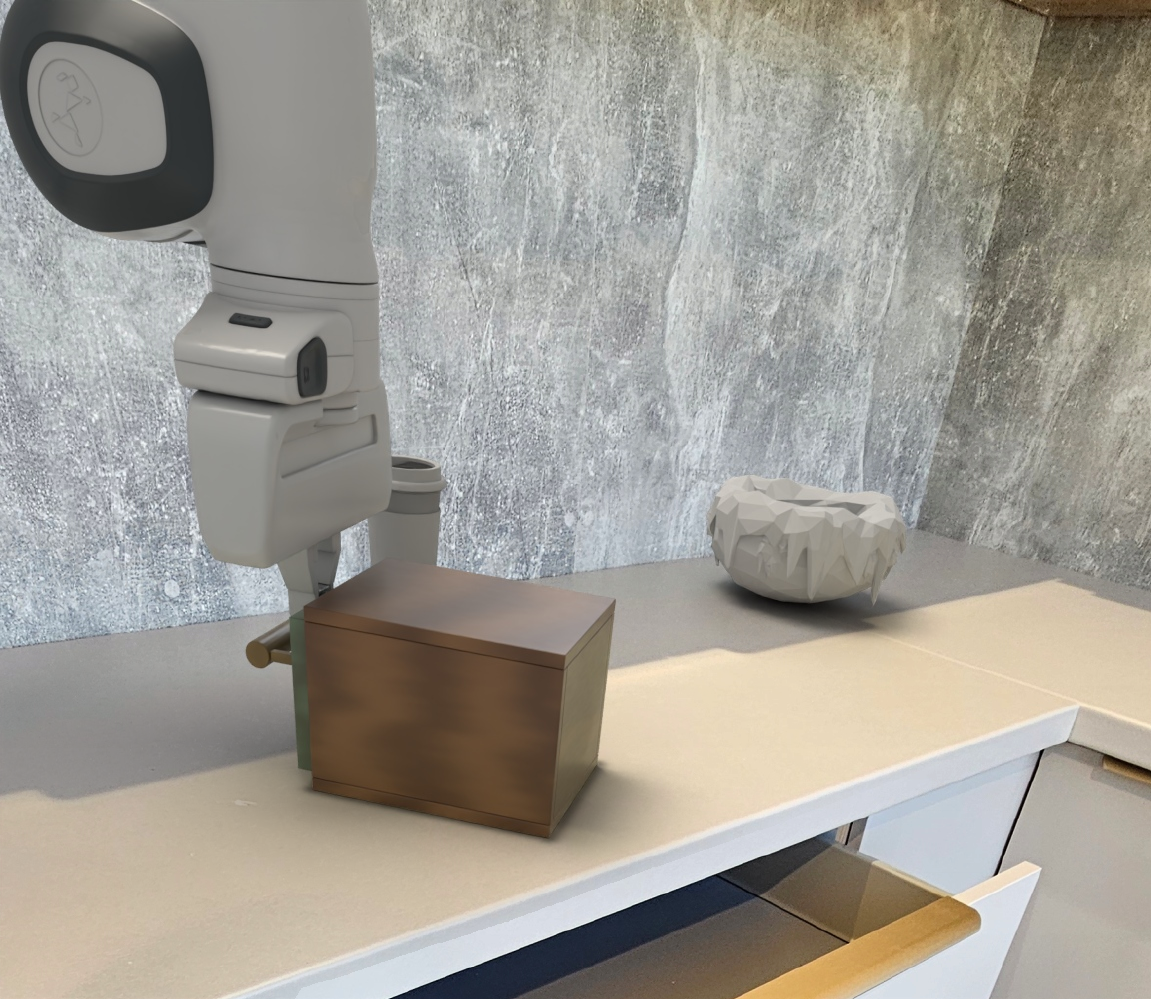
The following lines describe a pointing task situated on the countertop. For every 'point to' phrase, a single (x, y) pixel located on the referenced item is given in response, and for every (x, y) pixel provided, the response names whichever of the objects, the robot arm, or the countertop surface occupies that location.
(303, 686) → the drawer
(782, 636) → the countertop surface
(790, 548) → the bowl
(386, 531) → the cup
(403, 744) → the cabinet
